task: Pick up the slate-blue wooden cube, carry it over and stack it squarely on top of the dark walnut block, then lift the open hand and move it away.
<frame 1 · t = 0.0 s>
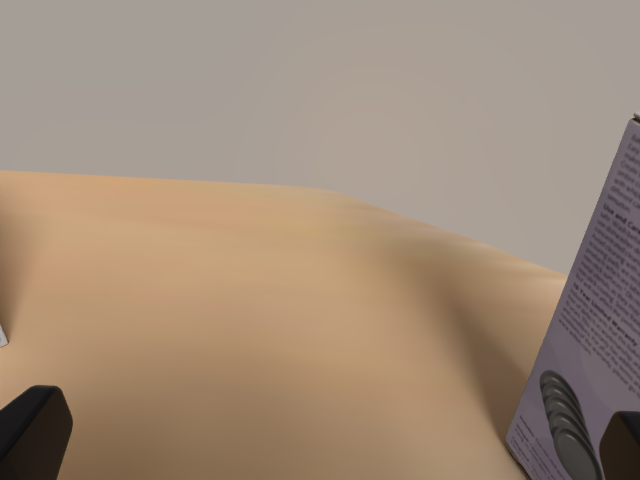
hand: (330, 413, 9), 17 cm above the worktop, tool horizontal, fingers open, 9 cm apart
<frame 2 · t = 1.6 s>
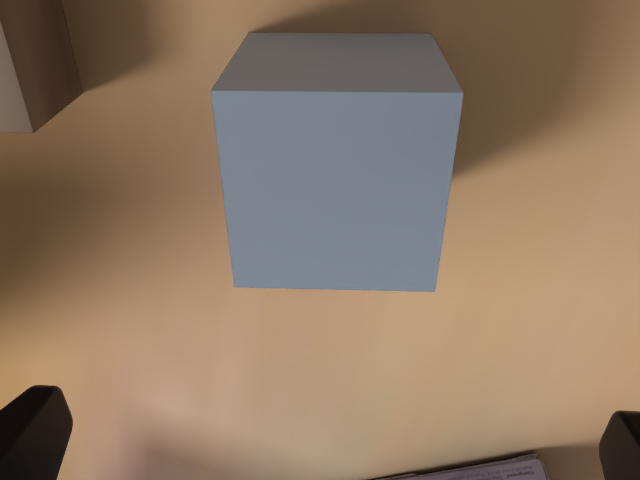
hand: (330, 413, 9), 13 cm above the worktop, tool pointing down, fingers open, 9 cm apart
slate-blue cube: (338, 119, 20), on the worktop
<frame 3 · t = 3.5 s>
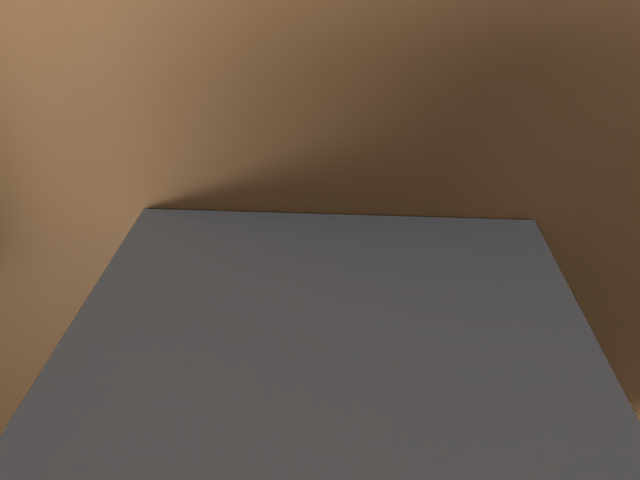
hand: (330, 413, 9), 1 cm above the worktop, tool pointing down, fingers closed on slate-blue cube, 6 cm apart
slate-blue cube: (333, 353, 10), on the worktop, touching gripper
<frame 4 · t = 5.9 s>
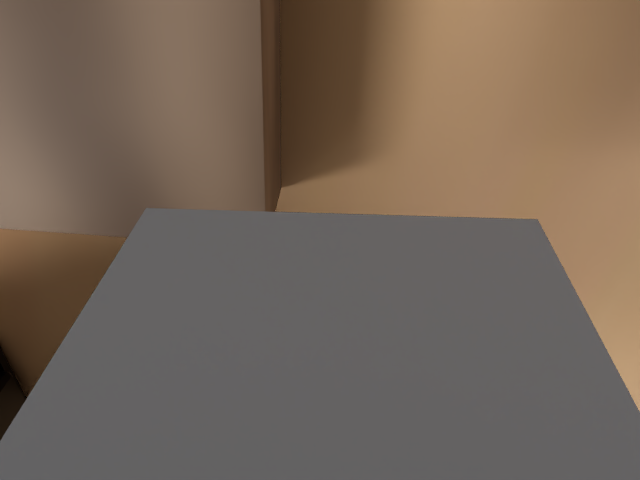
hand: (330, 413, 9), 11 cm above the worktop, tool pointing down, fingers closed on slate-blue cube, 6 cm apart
walnut block: (123, 32, 17), on the worktop
slate-blue cube: (335, 353, 10), point 10 cm above the worktop, touching gripper
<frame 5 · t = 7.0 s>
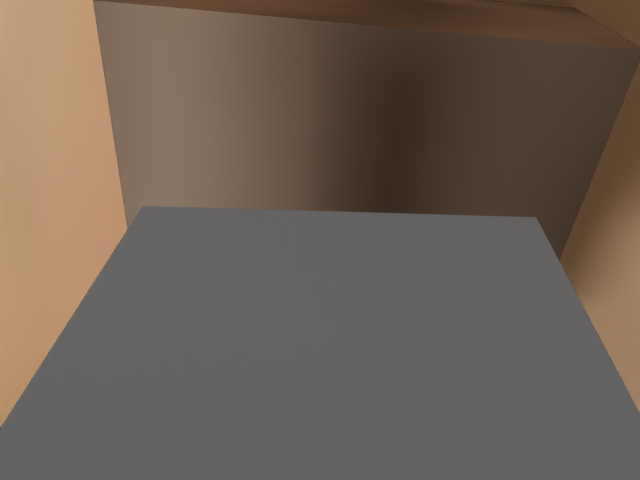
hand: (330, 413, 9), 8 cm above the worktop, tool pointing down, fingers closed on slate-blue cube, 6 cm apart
walnut block: (344, 171, 16), on the worktop
slate-blue cube: (333, 351, 10), point 7 cm above the worktop, touching gripper
when the fingers open (7 cm above the worktop, at t = 8.1 s): slate-blue cube drops 2 cm, point 4 cm above the worktop.
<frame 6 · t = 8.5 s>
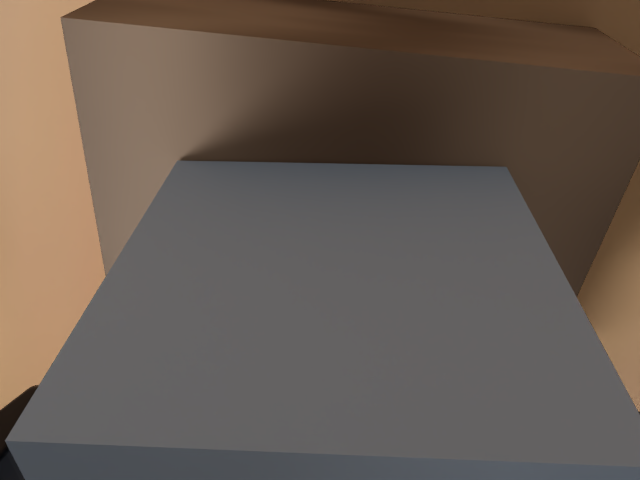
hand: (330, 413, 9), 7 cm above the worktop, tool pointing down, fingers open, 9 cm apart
walnut block: (341, 195, 15), on the worktop
slate-blue cube: (337, 291, 12), point 4 cm above the worktop
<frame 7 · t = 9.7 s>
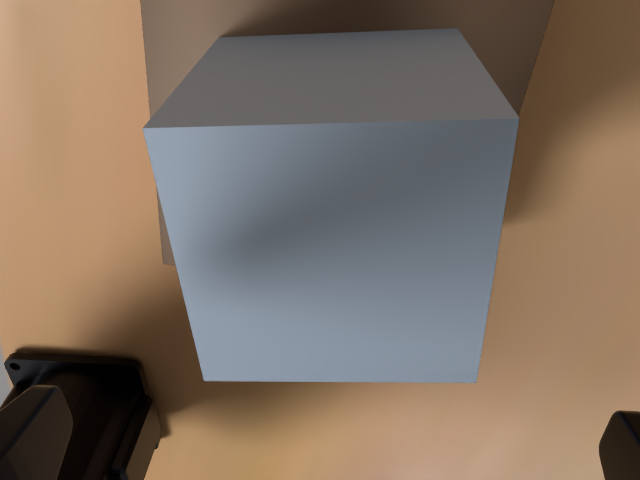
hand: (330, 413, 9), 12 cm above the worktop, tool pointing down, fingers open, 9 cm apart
walnut block: (332, 93, 19), on the worktop
slate-blue cube: (339, 143, 15), point 4 cm above the worktop
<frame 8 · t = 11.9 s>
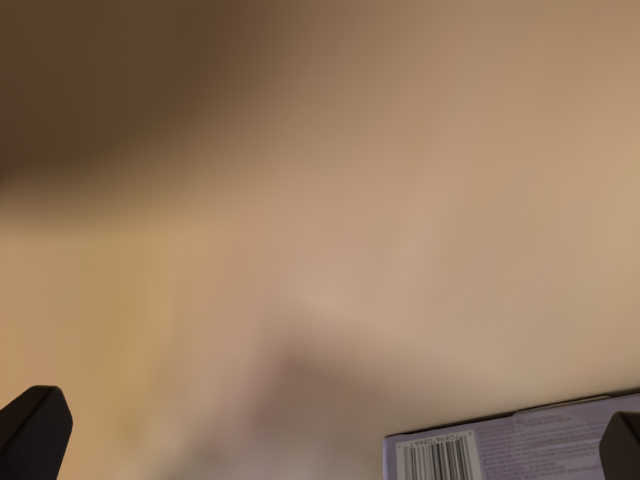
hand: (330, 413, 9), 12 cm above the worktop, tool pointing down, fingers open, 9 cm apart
cake pan box: (553, 429, 28), on the worktop
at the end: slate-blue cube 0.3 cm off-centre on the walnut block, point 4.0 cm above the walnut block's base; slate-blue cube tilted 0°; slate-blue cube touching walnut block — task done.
